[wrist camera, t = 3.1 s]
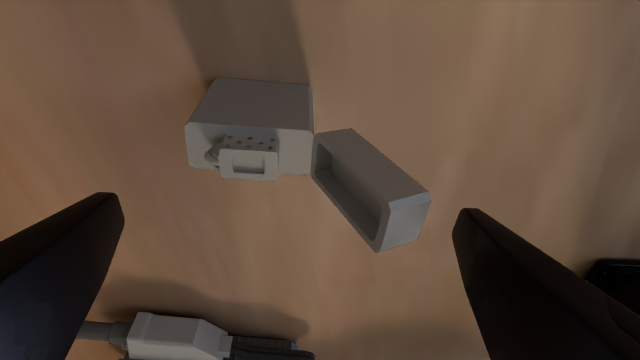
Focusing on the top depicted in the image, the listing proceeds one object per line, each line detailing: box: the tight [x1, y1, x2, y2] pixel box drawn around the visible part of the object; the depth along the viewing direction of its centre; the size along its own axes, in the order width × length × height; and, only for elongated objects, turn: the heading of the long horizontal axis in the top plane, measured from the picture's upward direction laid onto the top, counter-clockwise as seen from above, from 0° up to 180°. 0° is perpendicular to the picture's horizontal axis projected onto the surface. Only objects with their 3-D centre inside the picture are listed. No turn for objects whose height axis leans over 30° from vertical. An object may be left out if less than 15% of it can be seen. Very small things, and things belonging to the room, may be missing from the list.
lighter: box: [184, 77, 431, 253], centre depth 12 cm, size 7×2×8 cm, turn 84°
